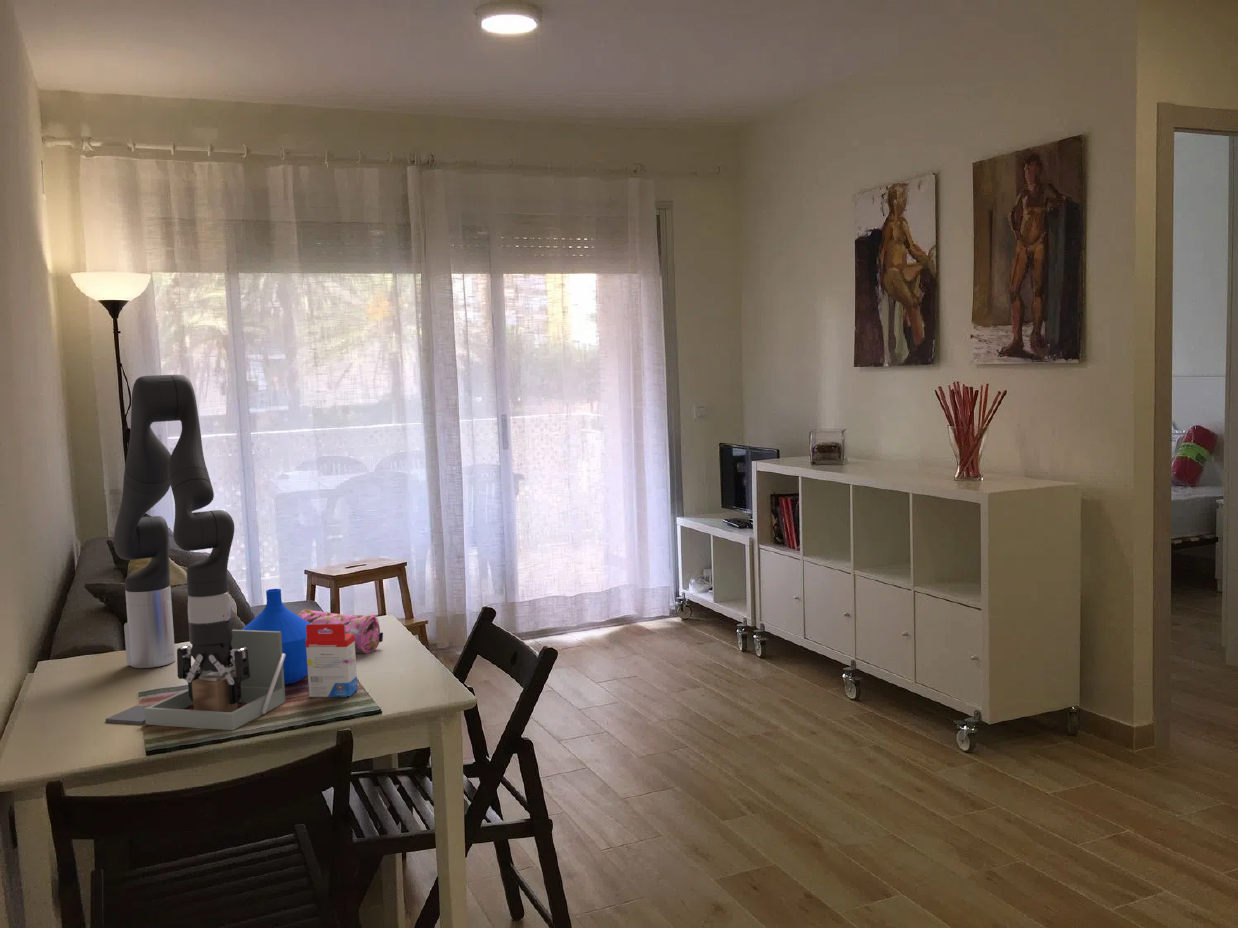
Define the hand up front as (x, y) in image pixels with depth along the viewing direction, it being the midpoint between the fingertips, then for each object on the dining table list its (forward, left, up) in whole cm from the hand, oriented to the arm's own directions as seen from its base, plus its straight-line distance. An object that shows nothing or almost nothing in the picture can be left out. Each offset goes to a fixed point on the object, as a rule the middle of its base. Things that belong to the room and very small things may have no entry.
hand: (215, 701), depth 193 cm
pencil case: (-2, +47, -3) cm, 47 cm away
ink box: (+16, +15, -3) cm, 22 cm away
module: (0, 0, -2) cm, 2 cm away
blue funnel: (-1, +22, -3) cm, 22 cm away
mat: (-14, -4, -2) cm, 15 cm away
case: (0, 0, -2) cm, 2 cm away
